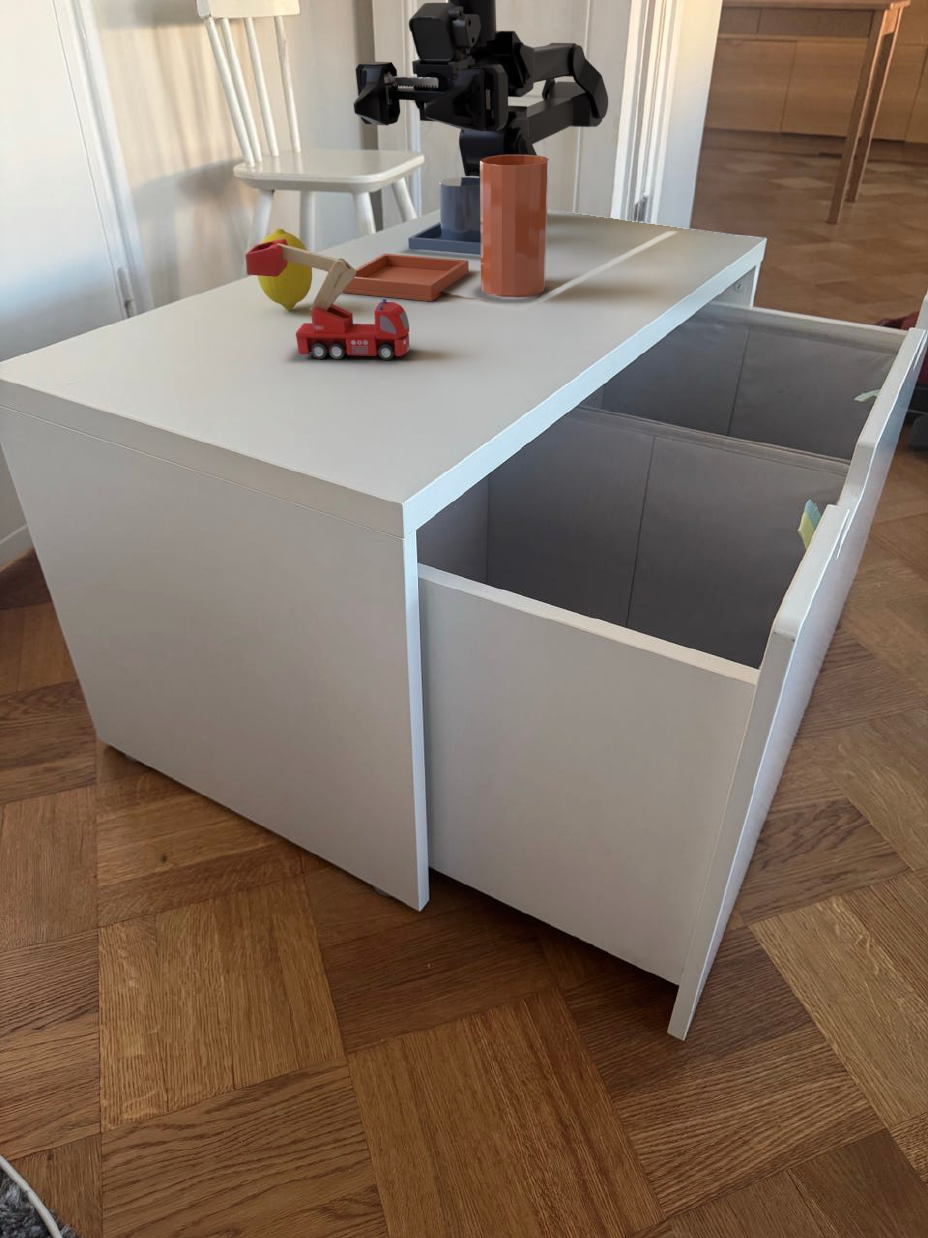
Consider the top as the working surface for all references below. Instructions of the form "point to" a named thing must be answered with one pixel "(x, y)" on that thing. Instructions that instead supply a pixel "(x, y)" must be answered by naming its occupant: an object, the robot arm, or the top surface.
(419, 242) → the slate tray
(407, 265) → the terracotta tray
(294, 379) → the top surface
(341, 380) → the top surface
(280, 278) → the lemon
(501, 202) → the terracotta cup
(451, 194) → the blue-grey drinking cup
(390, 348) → the toy fire truck
